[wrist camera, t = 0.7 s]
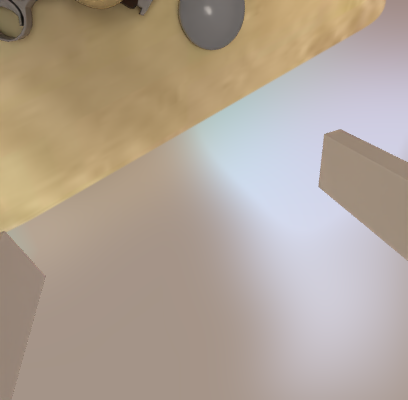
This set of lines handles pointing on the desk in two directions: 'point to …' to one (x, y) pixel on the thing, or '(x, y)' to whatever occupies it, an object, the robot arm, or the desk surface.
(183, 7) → the dish slate
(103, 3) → the balance
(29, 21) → the handgun
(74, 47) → the desk surface
